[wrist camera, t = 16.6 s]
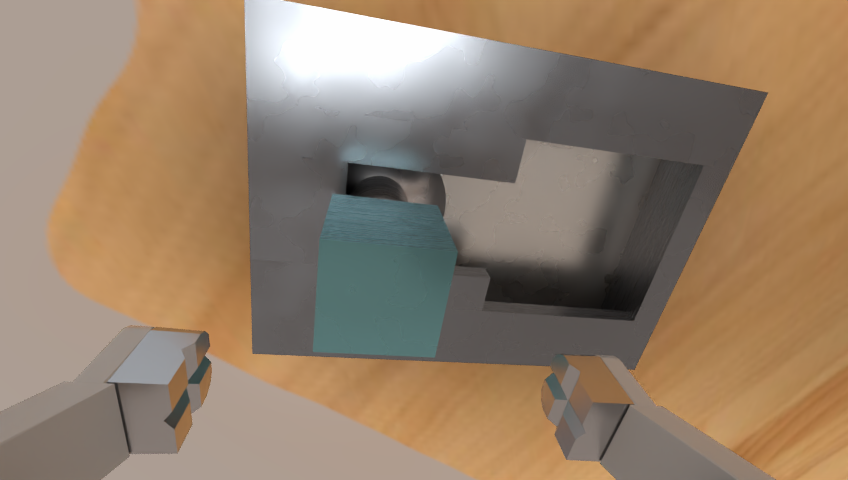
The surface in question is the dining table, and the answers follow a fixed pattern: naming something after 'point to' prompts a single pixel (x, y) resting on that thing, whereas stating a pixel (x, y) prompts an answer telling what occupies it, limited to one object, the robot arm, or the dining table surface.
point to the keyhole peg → (384, 265)
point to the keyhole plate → (484, 177)
